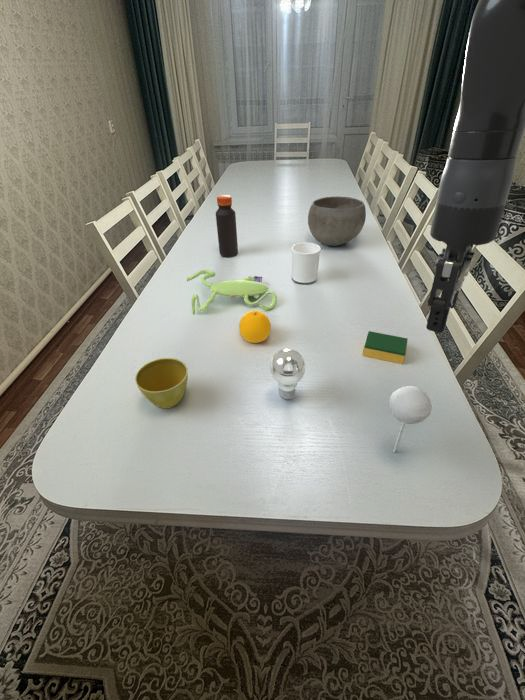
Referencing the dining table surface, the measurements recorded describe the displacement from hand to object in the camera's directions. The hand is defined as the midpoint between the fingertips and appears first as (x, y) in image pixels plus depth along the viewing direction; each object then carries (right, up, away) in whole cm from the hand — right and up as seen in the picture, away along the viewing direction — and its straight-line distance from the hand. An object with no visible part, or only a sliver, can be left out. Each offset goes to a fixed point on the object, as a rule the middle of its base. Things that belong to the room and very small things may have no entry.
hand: (441, 317), depth 52 cm
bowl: (+2, +37, +86) cm, 94 cm away
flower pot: (-46, -15, +23) cm, 53 cm away
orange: (-28, -2, +39) cm, 48 cm away
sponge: (+3, -5, +33) cm, 34 cm away
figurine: (-36, +11, +55) cm, 66 cm away
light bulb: (-21, -15, +22) cm, 34 cm away
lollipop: (-3, -23, +11) cm, 26 cm away
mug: (-12, +19, +64) cm, 68 cm away
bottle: (-38, +31, +80) cm, 94 cm away
